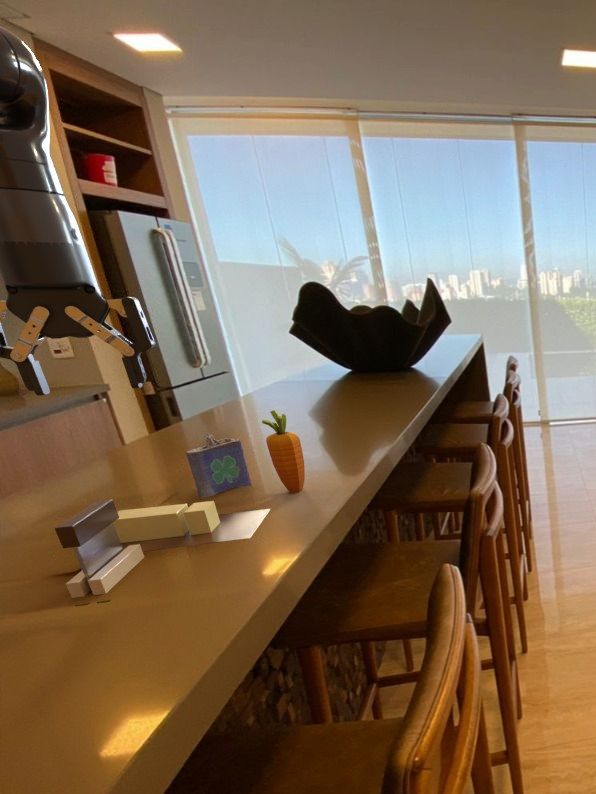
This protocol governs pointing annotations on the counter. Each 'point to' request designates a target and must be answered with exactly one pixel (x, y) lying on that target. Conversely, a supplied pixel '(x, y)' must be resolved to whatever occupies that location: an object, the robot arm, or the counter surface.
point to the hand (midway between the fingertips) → (91, 390)
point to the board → (227, 530)
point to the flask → (218, 466)
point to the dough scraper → (92, 536)
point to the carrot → (286, 454)
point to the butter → (151, 523)
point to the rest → (106, 574)
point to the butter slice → (202, 517)
